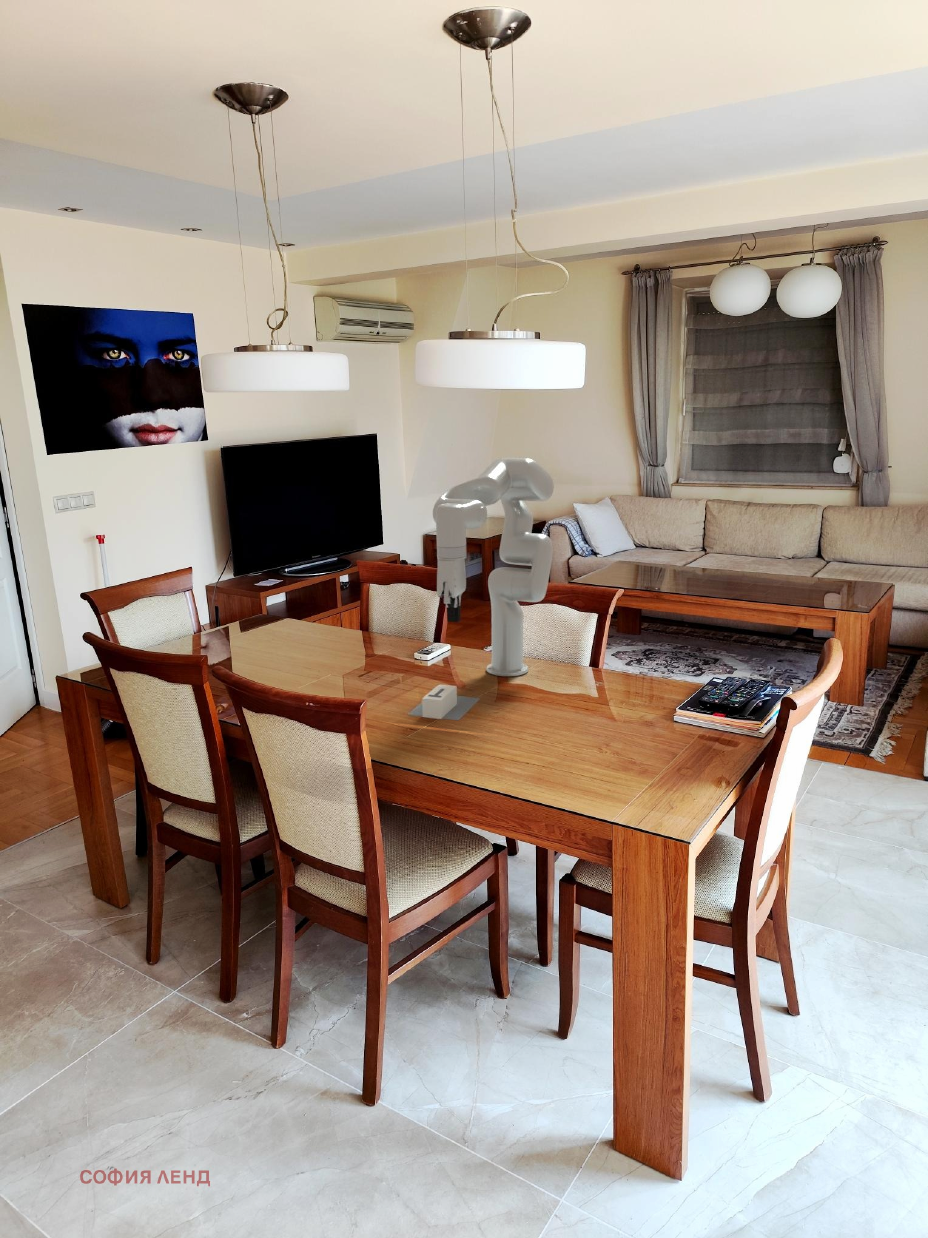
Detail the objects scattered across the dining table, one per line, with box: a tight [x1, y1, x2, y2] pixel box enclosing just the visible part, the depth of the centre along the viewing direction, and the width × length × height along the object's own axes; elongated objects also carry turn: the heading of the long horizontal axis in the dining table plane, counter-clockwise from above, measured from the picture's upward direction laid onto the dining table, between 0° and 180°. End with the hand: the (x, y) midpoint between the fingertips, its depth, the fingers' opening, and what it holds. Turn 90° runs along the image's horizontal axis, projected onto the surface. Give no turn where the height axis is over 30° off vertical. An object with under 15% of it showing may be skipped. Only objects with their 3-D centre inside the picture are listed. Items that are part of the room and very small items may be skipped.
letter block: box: [421, 684, 458, 720], centre depth 220 cm, size 5×5×12 cm
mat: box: [407, 695, 481, 721], centre depth 223 cm, size 18×14×1 cm
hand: (453, 621), depth 222 cm, fingers closed
